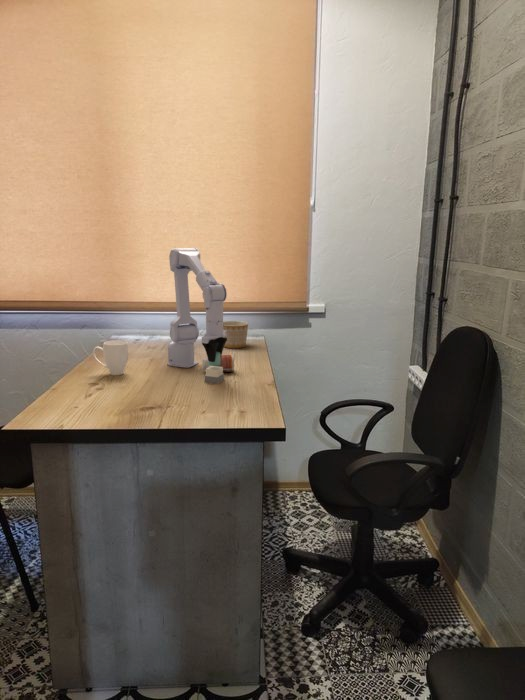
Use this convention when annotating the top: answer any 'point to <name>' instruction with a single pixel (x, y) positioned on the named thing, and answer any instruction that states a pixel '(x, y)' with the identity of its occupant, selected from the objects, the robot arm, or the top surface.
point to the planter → (235, 333)
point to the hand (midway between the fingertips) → (214, 360)
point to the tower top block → (214, 371)
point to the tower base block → (214, 379)
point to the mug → (114, 355)
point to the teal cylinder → (216, 360)
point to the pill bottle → (222, 363)
